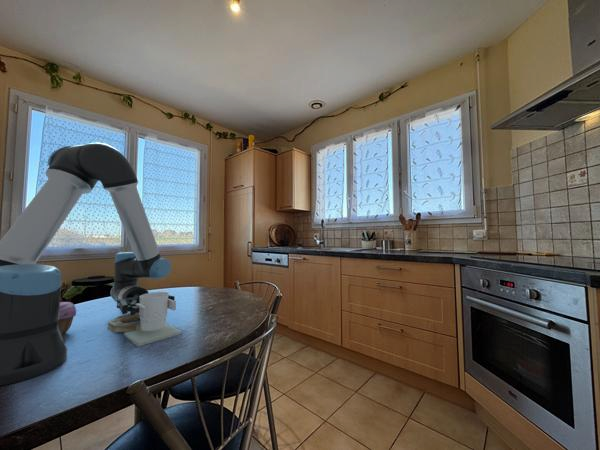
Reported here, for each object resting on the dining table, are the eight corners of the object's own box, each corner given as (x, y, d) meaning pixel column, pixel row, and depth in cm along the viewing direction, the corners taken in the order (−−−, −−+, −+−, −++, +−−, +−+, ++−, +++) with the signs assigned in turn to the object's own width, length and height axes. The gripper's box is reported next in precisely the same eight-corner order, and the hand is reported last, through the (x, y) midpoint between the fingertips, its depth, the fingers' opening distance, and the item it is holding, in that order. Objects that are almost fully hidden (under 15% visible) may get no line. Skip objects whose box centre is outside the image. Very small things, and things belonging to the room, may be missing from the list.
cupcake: (28, 338, 74) (30, 304, 74) (62, 328, 82) (63, 297, 83) (49, 341, 72) (51, 306, 72) (82, 330, 80) (84, 299, 81)
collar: (150, 330, 81) (150, 324, 81) (99, 333, 78) (100, 326, 78) (166, 316, 95) (166, 311, 95) (124, 318, 92) (124, 313, 92)
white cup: (158, 332, 73) (159, 297, 74) (132, 331, 73) (133, 297, 74) (172, 323, 81) (173, 292, 81) (148, 322, 81) (149, 291, 82)
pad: (181, 333, 78) (181, 331, 78) (137, 346, 68) (138, 343, 68) (165, 325, 85) (165, 322, 85) (124, 335, 76) (124, 333, 76)
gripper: (164, 302, 96) (193, 313, 82) (97, 314, 81) (118, 331, 66) (164, 282, 97) (193, 290, 82) (98, 291, 81) (120, 303, 67)
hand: (160, 308), depth 74 cm, fingers closed on white cup, 8 cm apart
